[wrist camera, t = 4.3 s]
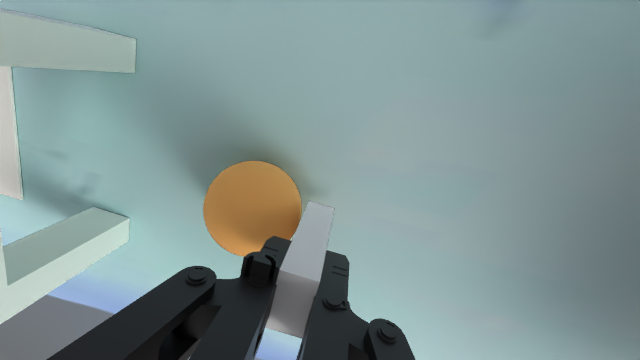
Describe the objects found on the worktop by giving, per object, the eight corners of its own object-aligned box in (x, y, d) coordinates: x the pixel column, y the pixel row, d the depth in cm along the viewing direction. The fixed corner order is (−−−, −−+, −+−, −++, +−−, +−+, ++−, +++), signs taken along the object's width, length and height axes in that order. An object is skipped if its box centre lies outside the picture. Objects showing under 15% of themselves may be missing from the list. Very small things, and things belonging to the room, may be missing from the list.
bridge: (136, 39, 18) (-76, -4, 10) (128, 240, 23) (-17, 335, 14) (91, 27, 18) (-155, -25, 10) (93, 229, 23) (-72, 315, 14)
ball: (306, 194, 14) (190, 165, 14) (282, 288, 16) (179, 263, 16) (314, 162, 19) (230, 141, 19) (295, 236, 21) (218, 217, 21)
